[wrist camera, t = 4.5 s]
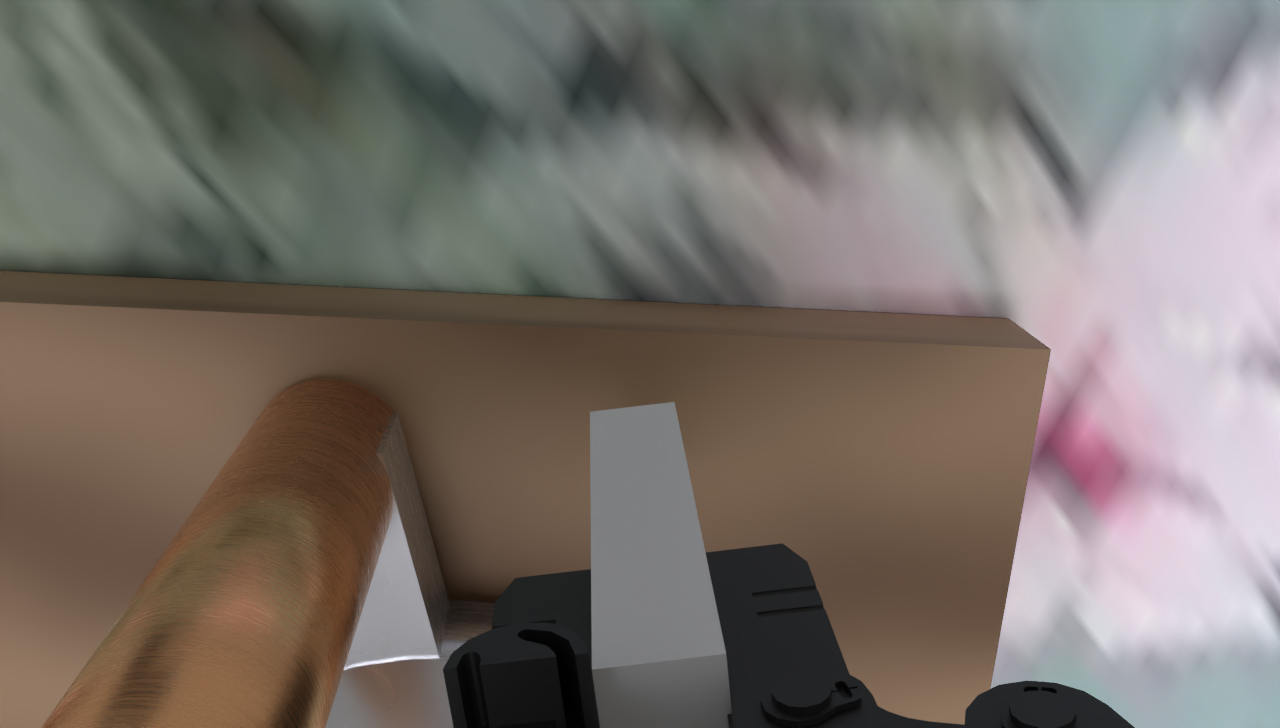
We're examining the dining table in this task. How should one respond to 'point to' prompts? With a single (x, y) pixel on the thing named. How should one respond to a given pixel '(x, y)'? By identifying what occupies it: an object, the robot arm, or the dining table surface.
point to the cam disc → (290, 589)
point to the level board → (525, 448)
